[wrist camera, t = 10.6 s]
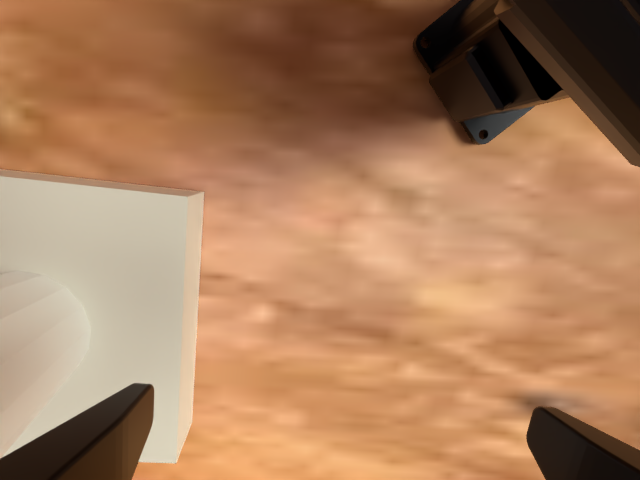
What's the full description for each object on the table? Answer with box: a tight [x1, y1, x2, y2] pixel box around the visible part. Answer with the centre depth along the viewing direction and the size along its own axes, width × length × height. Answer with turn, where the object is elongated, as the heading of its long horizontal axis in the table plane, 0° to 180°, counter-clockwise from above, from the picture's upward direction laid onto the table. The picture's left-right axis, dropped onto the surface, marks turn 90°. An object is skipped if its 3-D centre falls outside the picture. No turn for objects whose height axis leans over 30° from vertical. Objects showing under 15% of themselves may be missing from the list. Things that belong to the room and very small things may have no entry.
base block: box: [0, 169, 204, 463], centre depth 18 cm, size 14×14×3 cm
